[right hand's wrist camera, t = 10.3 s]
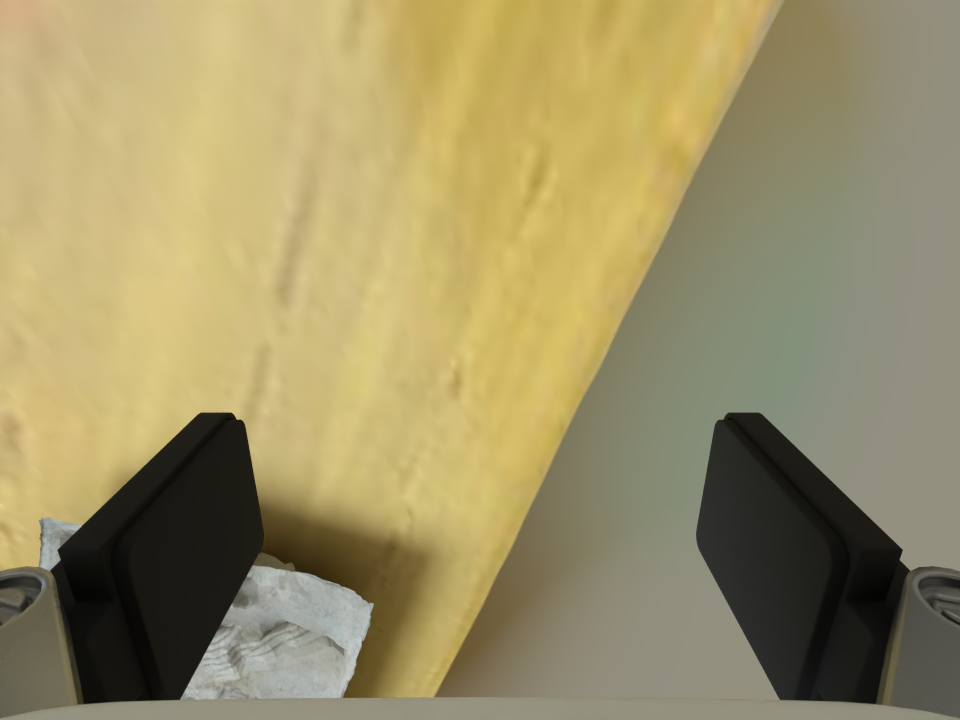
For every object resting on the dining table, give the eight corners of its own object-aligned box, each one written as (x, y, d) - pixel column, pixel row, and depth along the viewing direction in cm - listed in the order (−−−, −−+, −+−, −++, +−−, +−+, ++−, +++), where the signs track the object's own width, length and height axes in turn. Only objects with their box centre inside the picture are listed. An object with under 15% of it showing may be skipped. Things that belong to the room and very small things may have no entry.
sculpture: (50, 738, 63) (307, 802, 65) (6, 795, 57) (288, 863, 60) (76, 465, 51) (391, 557, 53) (23, 503, 45) (378, 604, 47)
